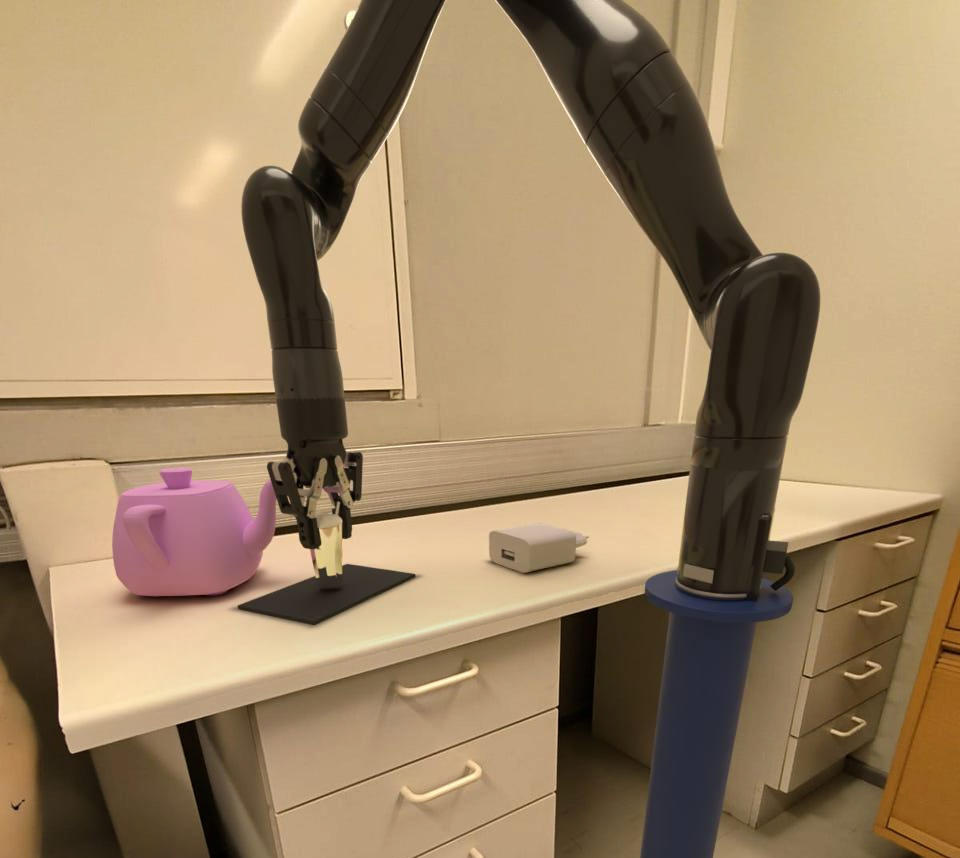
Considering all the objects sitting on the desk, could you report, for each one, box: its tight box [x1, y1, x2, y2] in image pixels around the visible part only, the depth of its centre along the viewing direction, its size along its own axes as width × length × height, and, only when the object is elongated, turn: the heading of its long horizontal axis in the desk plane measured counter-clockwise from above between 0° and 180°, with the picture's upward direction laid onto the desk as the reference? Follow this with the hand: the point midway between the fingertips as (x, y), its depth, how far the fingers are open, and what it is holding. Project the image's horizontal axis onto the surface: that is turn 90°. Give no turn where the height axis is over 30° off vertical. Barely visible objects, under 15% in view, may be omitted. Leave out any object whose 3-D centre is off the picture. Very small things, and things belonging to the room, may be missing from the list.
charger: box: [488, 522, 590, 574], centre depth 87 cm, size 5×9×15 cm
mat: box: [237, 563, 416, 626], centre depth 75 cm, size 12×20×1 cm, turn 152°
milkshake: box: [309, 502, 344, 589], centre depth 72 cm, size 4×5×10 cm
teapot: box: [111, 467, 277, 597], centre depth 74 cm, size 23×21×15 cm
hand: (328, 542), depth 72 cm, fingers closed on milkshake, 5 cm apart
